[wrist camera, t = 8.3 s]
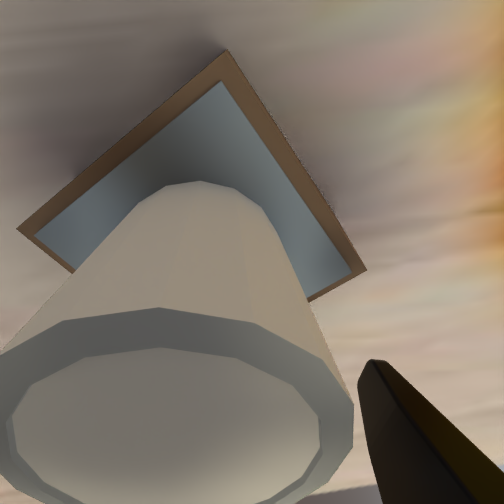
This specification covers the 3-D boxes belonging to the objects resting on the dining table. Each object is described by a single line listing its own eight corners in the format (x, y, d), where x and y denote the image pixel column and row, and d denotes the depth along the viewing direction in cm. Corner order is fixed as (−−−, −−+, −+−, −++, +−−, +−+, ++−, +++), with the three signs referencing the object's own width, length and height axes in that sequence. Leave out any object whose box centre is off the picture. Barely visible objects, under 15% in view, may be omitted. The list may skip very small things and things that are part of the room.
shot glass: (60, 252, 12) (-113, 461, 6) (199, 111, 10) (146, 216, 4) (203, 352, 15) (183, 562, 9) (334, 259, 13) (426, 453, 7)
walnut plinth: (199, 299, 20) (189, 373, 16) (74, 179, 16) (11, 232, 12) (334, 215, 18) (370, 274, 13) (227, 49, 14) (224, 51, 9)
